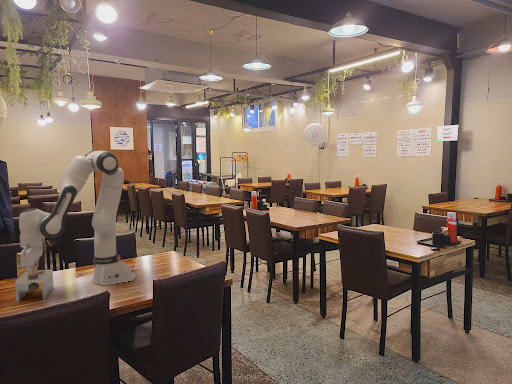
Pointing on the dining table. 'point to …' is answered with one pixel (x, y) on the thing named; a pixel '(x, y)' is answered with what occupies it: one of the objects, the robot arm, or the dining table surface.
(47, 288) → the grey bridge stand
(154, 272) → the dining table surface
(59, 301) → the dining table surface
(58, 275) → the dining table surface
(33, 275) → the pink-topped grey pedestal
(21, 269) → the candy box
